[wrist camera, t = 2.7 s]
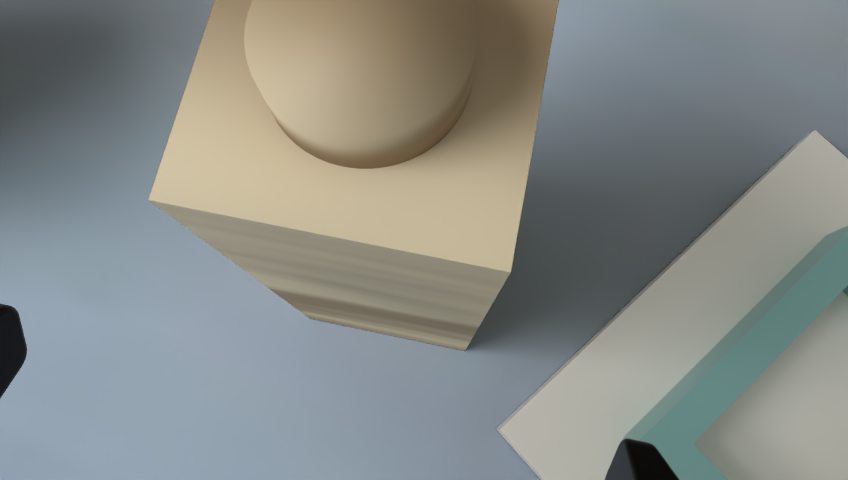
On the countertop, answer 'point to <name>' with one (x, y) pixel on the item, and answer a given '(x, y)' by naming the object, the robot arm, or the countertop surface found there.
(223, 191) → the beige tall block
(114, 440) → the countertop surface
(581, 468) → the baseplate
